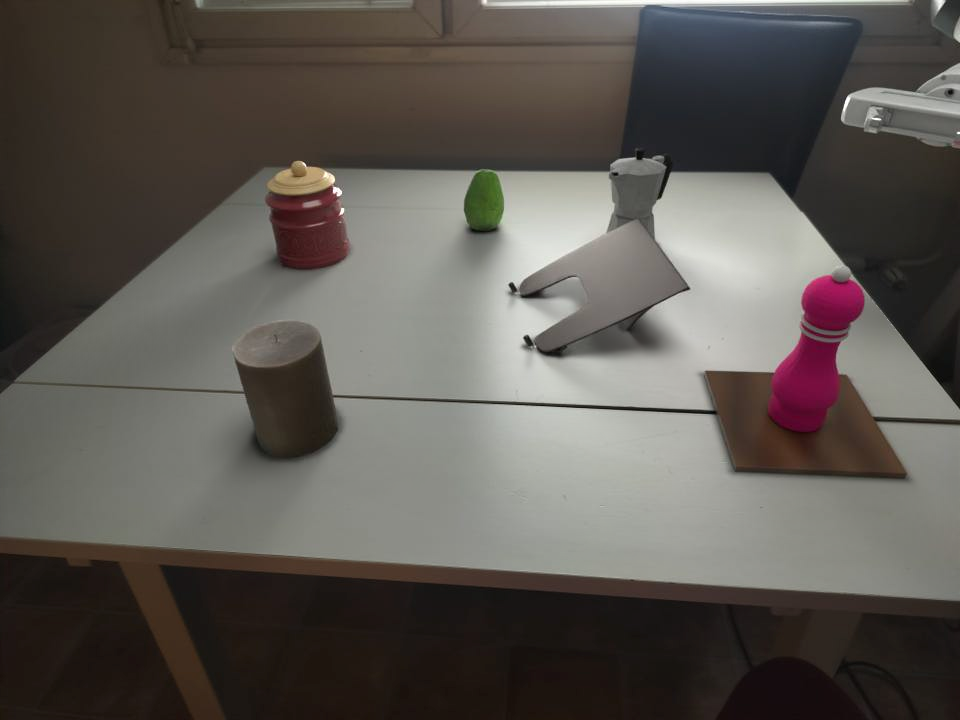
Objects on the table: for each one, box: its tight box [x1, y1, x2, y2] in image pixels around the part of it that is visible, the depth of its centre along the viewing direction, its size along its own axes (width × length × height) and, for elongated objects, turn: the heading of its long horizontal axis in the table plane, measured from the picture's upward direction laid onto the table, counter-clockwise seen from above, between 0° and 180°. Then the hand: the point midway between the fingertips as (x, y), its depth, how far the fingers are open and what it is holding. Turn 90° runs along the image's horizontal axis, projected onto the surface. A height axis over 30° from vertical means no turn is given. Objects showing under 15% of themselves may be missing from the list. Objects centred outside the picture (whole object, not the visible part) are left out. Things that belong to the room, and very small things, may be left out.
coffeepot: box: [605, 147, 674, 240], centre depth 117 cm, size 15×9×18 cm, turn 126°
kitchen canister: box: [264, 160, 351, 270], centre depth 117 cm, size 13×13×18 cm
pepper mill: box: [768, 264, 866, 432], centre depth 74 cm, size 7×7×20 cm
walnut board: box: [703, 370, 908, 479], centre depth 80 cm, size 18×18×2 cm
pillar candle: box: [230, 318, 340, 459], centre depth 77 cm, size 10×10×15 cm
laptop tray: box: [508, 218, 691, 355], centre depth 100 cm, size 23×23×9 cm
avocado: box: [463, 168, 505, 232], centre depth 126 cm, size 8×8×12 cm
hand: (914, 133), depth 77 cm, fingers open, 8 cm apart
